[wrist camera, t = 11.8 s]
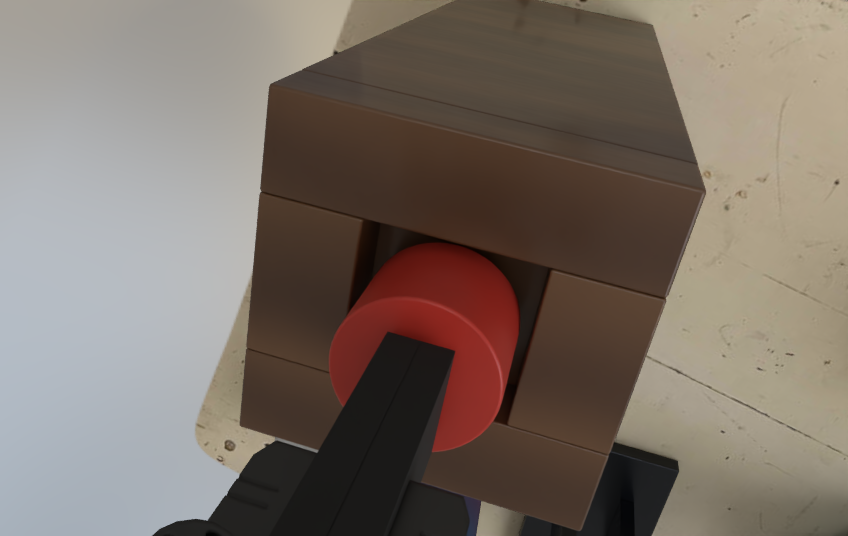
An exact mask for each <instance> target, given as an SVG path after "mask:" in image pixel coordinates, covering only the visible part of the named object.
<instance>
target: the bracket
mask: <svg viewBox="0 0 848 536" xmlns="http://www.w3.org/2000/svg"><path fill="white" fill-rule="evenodd" d="M678 473H679V467H678V461H676V460H673V459H669V458H666V457H662V456H659V455H655V454H652V453H649V452H645V451H642V450H638V449H635V448H631V447H628V446H625V445H621V444H618V443H614V444H613V446H612V449H611V452H610V453H609V457H608V460H607V462H606V465H605V468H604V470H603V473H602V476H601V479H600V481H599V484H598V487H597V489H596V492H595V495H594V497H593V500H592V503H591V506H590V508H589V511H588V514H587V516H586V519H585V522H584V524H583V527H582V529H581V530H580V531H577V530H574V529H571V528H567V527H564V526H561V525H558V524H555V523H551V522H548V521H545V520H542V519H538V518H535V517H532V516H529V515H526V514H525V517H524V520H523V523H522V526H521V529H520V532H519V536H652V533H653V531H654V529H655V526H656V524H657V522H658V519H659V517H660V515H661V512H662V510H663V508H664V505H665V503H666V501H667V498H668V496H669V494H670V491H671V489H672V487H673V484H674V482H675V480H676V477H677V475H678Z"/></svg>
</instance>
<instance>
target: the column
mask: <svg viewBox="0 0 848 536" xmlns="http://www.w3.org/2000/svg"><path fill="white" fill-rule="evenodd" d="M260 189H261V191H262V192H261V193H260V197H259V207H258V219H257V230H256V231H257V232H256V242H255V253H254V265H253V276H252V288H251V299H250V311H249V323H248V334H247V349H246V357H245V369H244V380H243V392H242V403H241V415H240V426H241V427H245V428H248V429H251V430H254V431H257V432H261V433H264V434H267V435H270V436H274V437H277V438H280V439H283V440H287V441H290V442H293V443H296V444H299V445H303V446H306V447H309V448H312V449H316V450H319V449H320V447H321V445H322V444H323V442H324V440H325V438H326V437H327V435H328V433H329V431H330V430H331V428H332V426H333V425H334V423H335V421H336V419H337V418H338V416H339V414H340V412H341V411H342V409H343V406H342V405H341V403H340V401H339V400H338V398H337V396H336V394H335V391H334V388H333V386H332V383H331V378H330V373H329V352H330V347H331V343H332V340H333V338H334V335H335V333H336V331H337V330H338V328H339V326H340V325H341V323H342V322H343V320H344V319H345V318H346V316H347V315H348V313H349V312H350V310H351V309H352V308H353V306H354V305H355V303H356V302H357V301H358V299H359V298H360V296H361V295H362V293H363V292H364V291H365V289H366V288H367V286H368V285H369V283H370V282H371V281H372V279H373V278H374V276H375V275H376V274H377V272H378V271H379V269H380V268H381V267H382V266H383V265H384V263H385V262H386V261H388V260H389V259H390V258H391V257H392V256H394V255H395V254H397V253H398V252H400V251H402V250H404V249H406V248H409V247H412V246H415V245H419V244H424V243H449V244H454V245H459V246H462V247H465V248H468V249H470V250H472V251H474V252H477V253H478V254H480V255H482V256H483V257H485V258H486V259H488V260H489V261H490V262H492V263H493V264H494V265H495V266H496V267H497V268H498V269H499V270H500V271H501V272H502V273H503V274H504V276H505V277H506V278H507V280H508V281H509V283H510V284H511V286H512V288H513V290H514V292H515V295H516V297H517V300H518V304H519V308H520V316H521V322H520V331H519V336H518V340H517V344H516V348H515V352H514V356H513V360H512V364H511V368H510V372H509V376H508V380H507V384H506V388H505V392H504V396H503V400H502V404H501V406H500V409H499V412H498V414H497V415H496V417H495V419H494V421H493V422H492V423H491V424H490V426H489V427H488V428H487V429H486V430H485V431H484V432H483V433H482V434H481V435H479V436H478V437H477V438H475V439H474V440H472V441H471V442H469V443H467V444H465V445H463V446H460V447H457V448H454V449H451V450H446V451H439V452H432V453H431V456H430V458H429V461H428V464H427V467H426V470H425V472H424V475H423V478H422V481H421V482H422V483H425V484H429V485H432V486H435V487H438V488H442V489H445V490H448V491H451V492H454V493H458V494H461V495H464V496H467V497H471V498H474V499H477V500H480V501H484V502H487V503H490V504H493V505H496V506H500V507H503V508H506V509H509V510H513V511H516V512H519V513H522V514H526V515H529V516H532V517H535V518H538V519H542V520H545V521H548V522H551V523H555V524H558V525H561V526H564V527H567V528H571V529H574V530H577V531H580V530H581V529H582V527H583V524H584V522H585V519H586V516H587V514H588V511H589V508H590V506H591V503H592V500H593V497H594V495H595V492H596V489H597V487H598V484H599V481H600V479H601V476H602V473H603V470H604V468H605V465H606V462H607V460H608V457H609V453H610V452H611V449H612V446H613V444H614V441H615V438H616V436H617V433H618V430H619V428H620V425H621V422H622V419H623V417H624V414H625V411H626V409H627V406H628V403H629V401H630V398H631V395H632V392H633V390H634V387H635V384H636V382H637V379H638V376H639V374H640V371H641V368H642V365H643V363H644V360H645V357H646V355H647V352H648V349H649V347H650V344H651V341H652V338H653V336H654V333H655V330H656V328H657V325H658V322H659V320H660V317H661V314H662V311H663V309H664V306H665V303H666V297H667V296H668V295H669V292H670V289H671V286H672V284H673V281H674V278H675V276H676V273H677V270H678V268H679V265H680V262H681V259H682V257H683V254H684V251H685V249H686V246H687V243H688V241H689V238H690V235H691V232H692V230H693V227H694V224H695V222H696V219H697V216H698V214H699V211H700V208H701V205H702V203H703V200H704V197H705V195H706V189H705V186H704V183H703V180H702V177H701V174H700V170H699V167H698V163H697V160H696V157H695V154H694V151H693V148H692V145H691V142H690V139H689V135H688V132H687V129H686V126H685V123H684V120H683V117H682V114H681V111H680V108H679V105H678V101H677V98H676V95H675V92H674V89H673V86H672V83H671V80H670V77H669V74H668V71H667V67H666V64H665V61H664V58H663V55H662V52H661V49H660V46H659V43H658V40H657V37H656V33H655V30H654V27H653V25H649V24H644V23H640V22H635V21H631V20H626V19H621V18H617V17H612V16H607V15H603V14H598V13H594V12H589V11H584V10H580V9H575V8H571V7H566V6H561V5H557V4H552V3H548V2H543V1H538V0H456V1H453V2H451V3H449V4H447V5H445V6H442V7H440V8H438V9H436V10H433V11H431V12H429V13H427V14H425V15H422V16H420V17H418V18H416V19H413V20H411V21H409V22H407V23H404V24H402V25H400V26H398V27H396V28H393V29H391V30H389V31H387V32H384V33H382V34H380V35H378V36H376V37H373V38H371V39H369V40H367V41H364V42H362V43H360V44H358V45H356V46H353V47H351V48H349V49H347V50H344V51H342V52H340V53H338V54H335V55H333V56H331V57H329V58H327V59H324V60H322V61H320V62H318V63H315V64H313V65H311V66H309V67H307V68H304V69H303V70H302V71H299V72H296V73H294V74H292V75H289V76H287V77H285V78H283V79H281V80H278V81H276V82H274V83H272V84H270V87H269V95H268V107H267V118H266V130H265V142H264V153H263V165H262V175H261V187H260Z"/></svg>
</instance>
